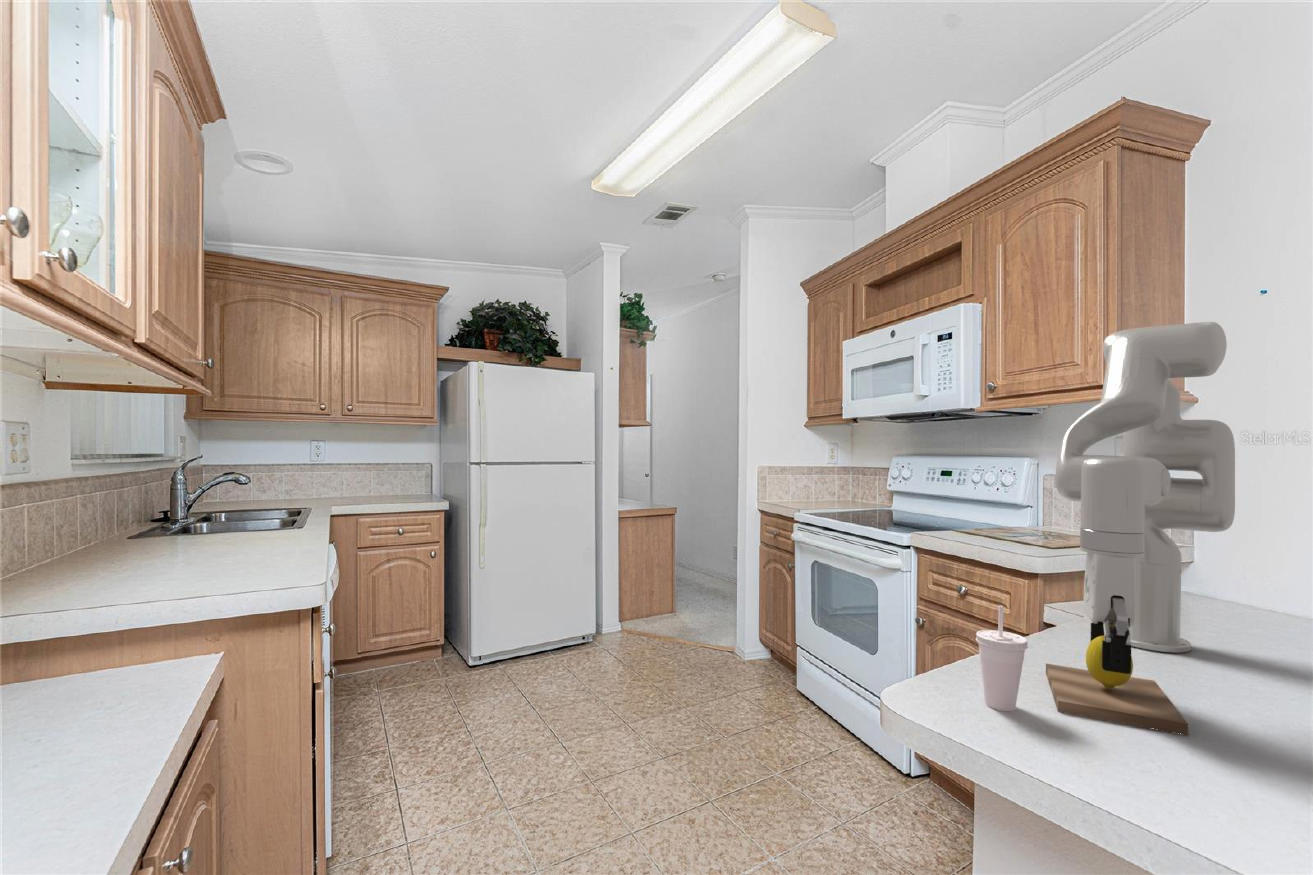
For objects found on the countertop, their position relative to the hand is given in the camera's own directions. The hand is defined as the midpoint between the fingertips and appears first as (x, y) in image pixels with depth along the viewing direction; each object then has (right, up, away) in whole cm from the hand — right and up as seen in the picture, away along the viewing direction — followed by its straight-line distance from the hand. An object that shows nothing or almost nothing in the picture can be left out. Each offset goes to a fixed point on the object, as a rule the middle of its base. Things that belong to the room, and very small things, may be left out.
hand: (1109, 660), depth 90 cm
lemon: (0, -4, 0) cm, 4 cm away
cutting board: (0, -6, 0) cm, 6 cm away
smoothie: (-18, -5, -3) cm, 19 cm away
